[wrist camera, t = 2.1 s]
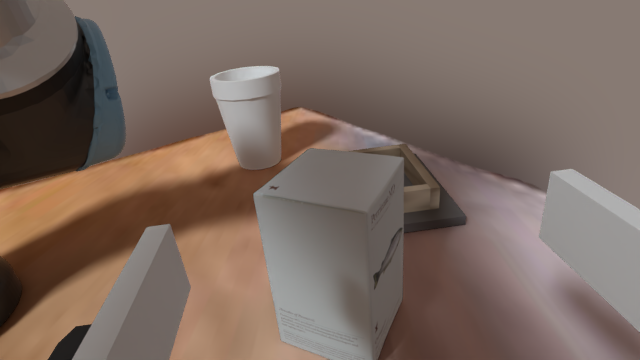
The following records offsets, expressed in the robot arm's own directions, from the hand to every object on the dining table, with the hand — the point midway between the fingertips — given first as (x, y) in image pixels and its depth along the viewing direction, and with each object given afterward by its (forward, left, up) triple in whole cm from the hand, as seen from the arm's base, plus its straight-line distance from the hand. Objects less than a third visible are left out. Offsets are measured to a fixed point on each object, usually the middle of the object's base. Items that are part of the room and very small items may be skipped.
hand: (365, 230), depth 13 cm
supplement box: (-8, +6, -15) cm, 19 cm away
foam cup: (-38, +21, -15) cm, 46 cm away
